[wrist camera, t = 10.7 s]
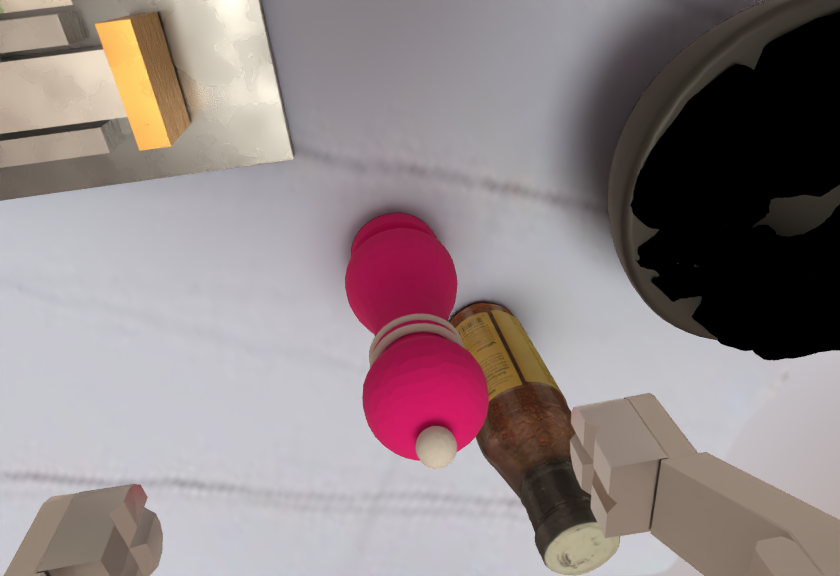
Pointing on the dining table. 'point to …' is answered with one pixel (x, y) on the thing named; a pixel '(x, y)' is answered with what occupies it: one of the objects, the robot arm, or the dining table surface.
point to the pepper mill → (414, 342)
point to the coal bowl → (739, 183)
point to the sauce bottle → (532, 440)
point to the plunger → (99, 84)
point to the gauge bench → (198, 79)
